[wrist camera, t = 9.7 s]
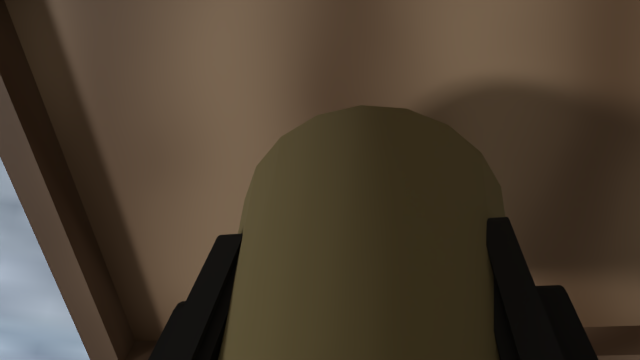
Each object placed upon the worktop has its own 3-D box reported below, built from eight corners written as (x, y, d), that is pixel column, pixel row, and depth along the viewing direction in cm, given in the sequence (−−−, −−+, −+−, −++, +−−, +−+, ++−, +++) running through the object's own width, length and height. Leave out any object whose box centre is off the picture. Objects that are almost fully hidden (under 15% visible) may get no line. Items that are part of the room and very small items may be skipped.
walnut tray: (781, -175, 12) (900, -198, 9) (682, 305, 18) (737, 377, 16) (-1, -51, 15) (-87, -40, 13) (139, 324, 22) (103, 388, 19)
